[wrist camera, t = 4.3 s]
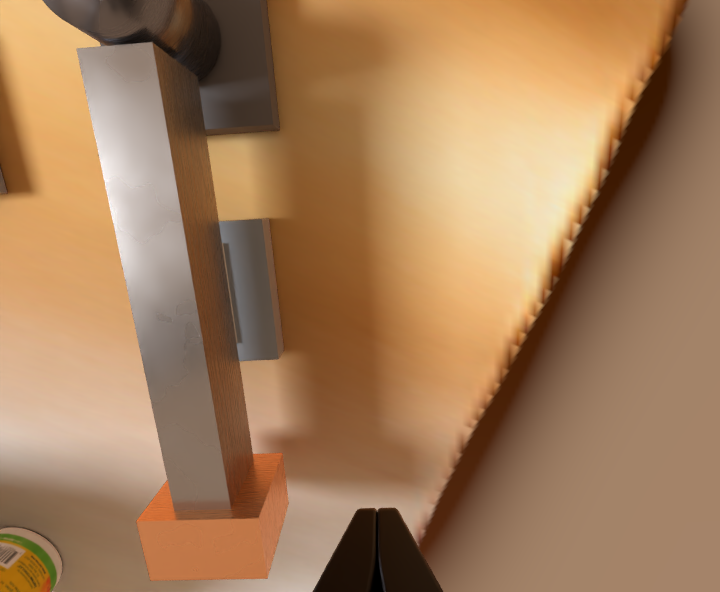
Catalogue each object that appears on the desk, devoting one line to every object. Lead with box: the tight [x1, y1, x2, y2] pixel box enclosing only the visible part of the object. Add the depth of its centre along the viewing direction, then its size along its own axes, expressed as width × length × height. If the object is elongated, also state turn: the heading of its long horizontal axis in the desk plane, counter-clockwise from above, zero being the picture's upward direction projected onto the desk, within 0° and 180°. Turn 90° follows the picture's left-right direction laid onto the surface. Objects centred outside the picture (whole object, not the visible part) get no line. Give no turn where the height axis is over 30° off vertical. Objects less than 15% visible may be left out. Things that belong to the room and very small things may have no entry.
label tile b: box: [219, 218, 284, 361], centre depth 18 cm, size 7×5×1 cm
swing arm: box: [43, 0, 289, 581], centre depth 15 cm, size 24×5×5 cm, turn 3°
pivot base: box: [100, 0, 280, 136], centre depth 16 cm, size 7×7×1 cm
